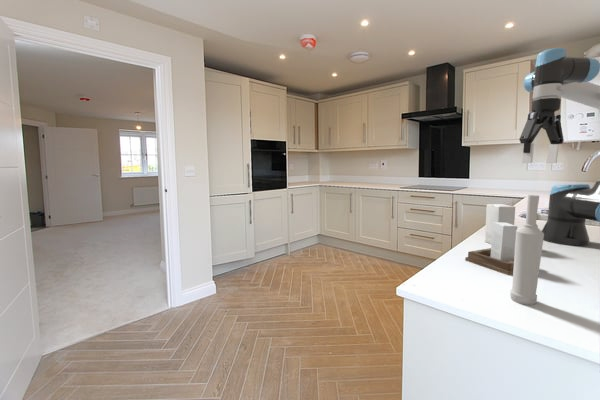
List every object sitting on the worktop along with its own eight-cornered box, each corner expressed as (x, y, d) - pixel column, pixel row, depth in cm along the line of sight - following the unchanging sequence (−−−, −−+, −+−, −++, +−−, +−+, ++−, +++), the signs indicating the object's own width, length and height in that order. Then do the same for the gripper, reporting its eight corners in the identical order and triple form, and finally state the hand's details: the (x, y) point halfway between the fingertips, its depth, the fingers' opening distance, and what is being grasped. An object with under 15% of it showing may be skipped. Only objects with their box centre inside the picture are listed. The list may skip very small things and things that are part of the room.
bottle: (512, 293, 77) (522, 193, 74) (538, 300, 73) (549, 195, 70) (507, 300, 73) (517, 195, 70) (534, 307, 70) (546, 197, 66)
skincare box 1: (513, 247, 117) (517, 206, 115) (495, 247, 117) (499, 206, 115) (499, 241, 126) (502, 203, 124) (483, 241, 126) (486, 203, 124)
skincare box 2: (514, 264, 95) (518, 226, 94) (500, 264, 95) (503, 226, 94) (503, 258, 101) (506, 222, 100) (489, 257, 101) (492, 222, 100)
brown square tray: (493, 255, 107) (494, 246, 107) (538, 268, 95) (539, 258, 94) (465, 260, 102) (465, 251, 102) (507, 274, 89) (508, 264, 89)
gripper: (535, 93, 95) (528, 163, 98) (581, 100, 105) (573, 163, 108) (510, 98, 102) (504, 163, 105) (555, 103, 112) (549, 162, 115)
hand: (539, 163), depth 106 cm, fingers open, 13 cm apart
